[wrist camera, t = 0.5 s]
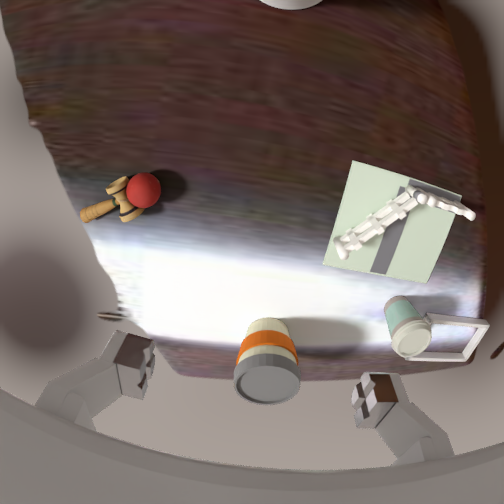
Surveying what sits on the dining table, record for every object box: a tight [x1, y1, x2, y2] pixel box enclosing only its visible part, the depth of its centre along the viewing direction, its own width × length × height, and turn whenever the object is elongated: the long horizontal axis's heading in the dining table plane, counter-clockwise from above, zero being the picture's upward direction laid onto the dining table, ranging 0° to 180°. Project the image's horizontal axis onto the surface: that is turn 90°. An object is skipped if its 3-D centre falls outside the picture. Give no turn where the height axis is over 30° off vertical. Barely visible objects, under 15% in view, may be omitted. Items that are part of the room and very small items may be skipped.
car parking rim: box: [405, 313, 490, 361], centre depth 65 cm, size 13×22×2 cm, turn 80°
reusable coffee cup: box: [234, 318, 301, 405], centre depth 60 cm, size 13×13×15 cm
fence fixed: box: [416, 187, 475, 221], centre depth 47 cm, size 11×2×6 cm, turn 80°
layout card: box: [323, 160, 462, 284], centre depth 53 cm, size 20×24×1 cm
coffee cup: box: [384, 296, 432, 357], centre depth 56 cm, size 8×8×12 cm
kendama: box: [80, 173, 161, 223], centre depth 52 cm, size 8×6×18 cm
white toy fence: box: [333, 185, 428, 260], centre depth 49 cm, size 18×2×6 cm, turn 130°
